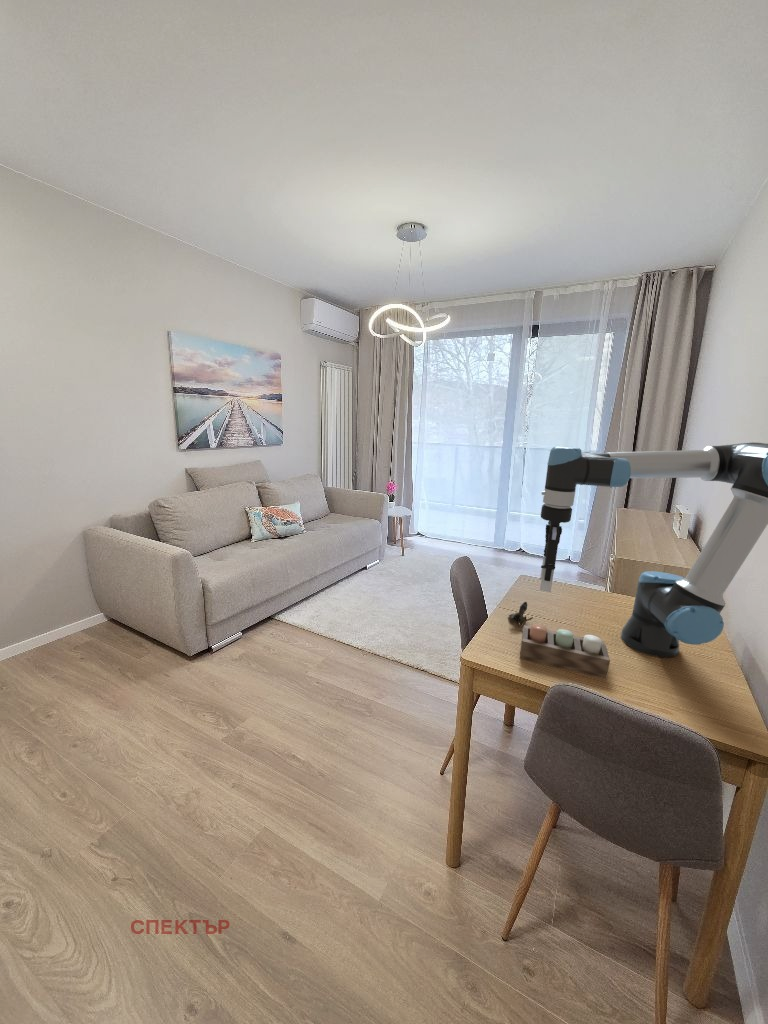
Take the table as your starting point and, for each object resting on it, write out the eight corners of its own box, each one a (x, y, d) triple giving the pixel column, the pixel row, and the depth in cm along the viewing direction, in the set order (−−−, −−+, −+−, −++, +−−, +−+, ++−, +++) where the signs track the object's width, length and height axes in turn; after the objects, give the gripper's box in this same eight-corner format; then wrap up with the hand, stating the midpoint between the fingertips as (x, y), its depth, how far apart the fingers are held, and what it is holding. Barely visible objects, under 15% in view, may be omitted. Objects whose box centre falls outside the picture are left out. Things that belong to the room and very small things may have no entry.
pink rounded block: (544, 641, 121) (547, 625, 119) (544, 648, 117) (547, 632, 115) (528, 637, 122) (530, 622, 121) (528, 645, 118) (530, 629, 117)
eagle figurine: (538, 626, 133) (531, 609, 141) (529, 610, 131) (523, 594, 139) (516, 635, 135) (510, 617, 144) (506, 619, 133) (502, 602, 141)
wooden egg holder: (601, 659, 119) (604, 641, 117) (606, 678, 109) (610, 660, 108) (521, 641, 126) (523, 624, 125) (519, 658, 117) (522, 641, 116)
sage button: (570, 647, 118) (573, 631, 117) (571, 654, 114) (574, 638, 113) (554, 643, 120) (556, 627, 119) (554, 651, 116) (557, 635, 115)
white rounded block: (597, 652, 116) (600, 636, 115) (599, 661, 112) (602, 644, 111) (580, 649, 117) (583, 633, 116) (581, 657, 113) (584, 640, 112)
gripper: (542, 497, 120) (532, 570, 126) (542, 511, 102) (529, 596, 107) (570, 500, 118) (558, 575, 123) (575, 515, 99) (561, 602, 105)
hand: (545, 585), depth 115 cm, fingers open, 8 cm apart
